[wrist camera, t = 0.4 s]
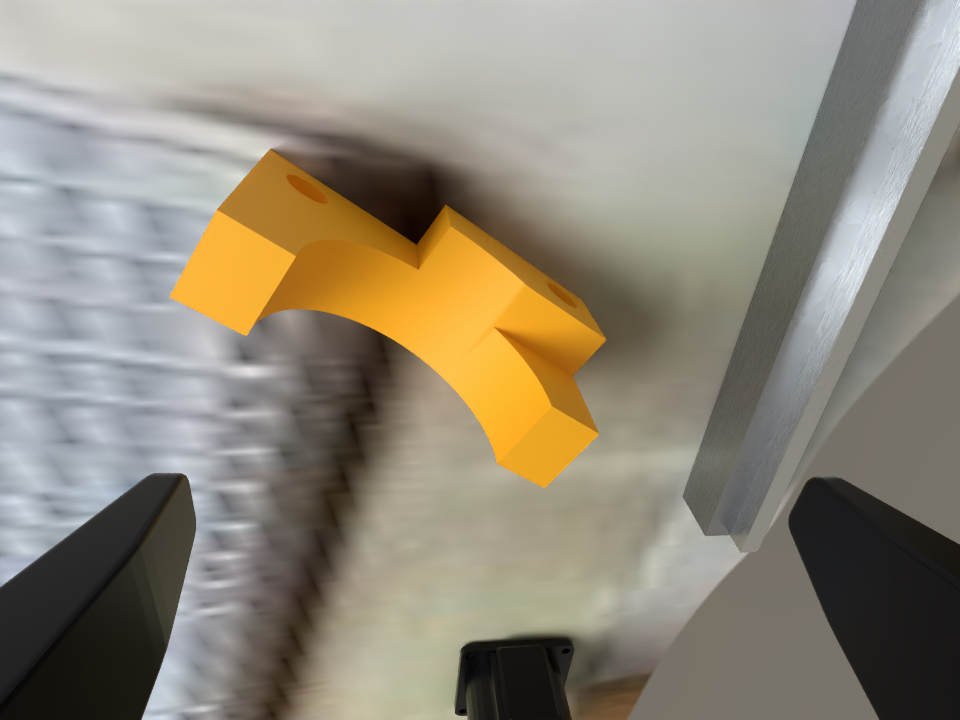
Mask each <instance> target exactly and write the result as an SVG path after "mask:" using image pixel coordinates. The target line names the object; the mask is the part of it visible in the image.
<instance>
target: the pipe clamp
mask: <svg viewBox="0 0 960 720" xmlns="http://www.w3.org/2000/svg"><path fill="white" fill-rule="evenodd" d="M170 298H172V299H174V300H176V301H178V302H180V303H182V304H184V305H186V306H188V307H190V308H192V309H194V310H196V311H198V312H200V313H202V314H204V315H206V316H207V317H209V318H211V319H213V320H215V321H217V322H219V323H221V324H223V325H225V326H227V327H229V328H231V329H233V330H235V331H237V332H239V333H241V334H243V335H245V336H247V334H248V333H249V331H250V329H251V328H252V327H253V326H254V325H255V324H256V322H258V321H259V320H261V319H262V318H263V317H265V316H267V315H270V314H272V313H275V312H278V311H282V310H290V309H309V310H317V311H324V312H328V313H332V314H336V315H339V316H343V317H346V318H349V319H351V320H354V321H357V322H359V323H362V324H364V325H366V326H368V327H371V328H373V329H375V330H377V331H379V332H381V333H382V334H384V335H386V336H388V337H389V338H391V339H393V340H395V341H396V342H398V343H399V344H401V345H403V346H404V347H405V348H407V349H408V350H410V351H411V352H413V353H414V354H415V355H417V356H418V357H419V358H421V359H422V360H423V361H425V362H426V363H427V364H428V365H429V366H431V367H432V368H433V369H434V370H435V371H436V372H437V373H438V374H440V375H441V376H442V377H443V378H444V379H445V380H446V381H447V382H448V383H449V384H450V385H451V386H452V387H453V388H454V389H455V391H456V392H457V393H458V394H459V395H460V396H461V397H462V399H463V400H464V401H465V402H466V403H467V405H468V406H469V407H470V409H471V410H472V412H473V413H474V414H475V416H476V417H477V419H478V420H479V422H480V424H481V425H482V427H483V429H484V431H485V432H486V434H487V436H488V438H489V441H490V443H491V445H492V448H493V450H494V453H495V456H496V460H497V464H498V465H500V466H502V467H504V468H506V469H508V470H510V471H512V472H514V473H516V474H518V475H520V476H522V477H524V478H526V479H528V480H530V481H532V482H534V483H536V484H538V485H540V486H542V487H544V488H545V487H546V486H547V485H548V484H550V483H551V482H552V481H553V480H554V479H555V478H556V477H557V476H558V475H559V474H560V473H561V472H562V471H563V470H564V469H565V468H566V467H567V466H568V465H569V464H570V463H571V462H572V461H573V460H574V459H575V458H576V457H577V456H578V455H579V454H580V453H581V452H582V451H583V450H584V449H585V448H586V447H587V446H588V445H589V444H590V443H591V442H592V441H593V440H594V439H595V438H596V437H597V436H598V435H599V432H598V430H597V428H596V426H595V424H594V421H593V419H592V417H591V415H590V413H589V411H588V408H587V406H586V404H585V402H584V400H583V398H582V395H581V393H580V391H579V389H578V387H577V385H576V382H575V380H574V378H573V375H574V374H575V373H576V372H577V371H578V370H579V369H580V368H581V367H582V366H583V365H584V364H585V362H586V361H587V360H588V359H589V358H590V357H591V356H592V355H593V354H594V353H595V352H596V351H597V350H598V348H599V347H600V346H601V345H602V344H603V343H604V342H605V341H606V338H605V336H604V335H603V333H602V332H601V330H600V328H599V327H598V325H597V323H596V322H595V320H594V318H593V317H592V315H591V313H590V312H589V310H588V309H587V307H586V305H585V304H584V302H583V300H581V299H580V298H578V297H577V296H575V295H574V294H573V293H571V292H570V291H568V290H567V289H565V288H564V287H563V286H561V285H560V284H558V283H557V282H556V281H554V280H553V279H551V278H550V277H548V276H547V275H546V274H544V273H543V272H541V271H540V270H538V269H537V268H536V267H534V266H533V265H531V264H530V263H528V262H527V261H526V260H524V259H523V258H521V257H520V256H518V255H517V254H516V253H514V252H513V251H511V250H510V249H508V248H507V247H506V246H504V245H503V244H501V243H500V242H499V241H497V240H496V239H494V238H493V237H491V236H490V235H489V234H487V233H486V232H484V231H483V230H481V229H480V228H479V227H477V226H476V225H474V224H473V223H471V222H470V221H469V220H467V219H466V218H464V217H463V216H461V215H460V214H459V213H457V212H456V211H454V210H453V209H451V208H450V207H449V206H447V205H445V206H444V208H443V209H442V210H441V212H440V213H439V215H438V216H437V217H436V219H435V220H434V222H433V223H432V224H431V226H430V227H429V229H428V230H427V231H426V233H425V234H424V236H423V237H422V238H421V240H420V241H419V243H418V244H417V245H416V244H415V243H413V242H412V241H410V240H409V239H407V238H406V237H404V236H402V235H401V234H399V233H398V232H396V231H395V230H393V229H392V228H390V227H389V226H387V225H386V224H384V223H383V222H381V221H379V220H378V219H376V218H375V217H373V216H372V215H370V214H369V213H367V212H366V211H364V210H363V209H361V208H360V207H358V206H356V205H355V204H353V203H352V202H350V201H349V200H347V199H346V198H344V197H343V196H341V195H340V194H338V193H337V192H335V191H334V190H332V189H330V188H329V187H327V186H326V185H324V184H323V183H321V182H320V181H318V180H317V179H315V178H314V177H312V176H311V175H309V174H307V173H306V172H304V171H303V170H301V169H300V168H298V167H297V166H295V165H294V164H292V163H291V162H289V161H288V160H286V159H285V158H283V157H281V156H280V155H278V154H277V153H275V152H274V151H272V150H271V149H270V150H269V151H268V152H267V153H266V154H265V155H264V157H263V158H262V159H261V160H260V161H259V162H258V163H257V164H256V166H255V167H254V168H253V169H252V170H251V171H250V172H249V174H248V175H247V176H246V177H245V178H244V179H243V180H242V182H241V183H240V184H239V185H238V186H237V187H236V188H235V190H234V191H233V192H232V193H231V194H230V195H229V196H228V198H227V199H226V200H225V201H224V202H223V203H222V204H221V206H220V207H219V208H218V209H217V210H216V212H215V214H214V216H213V218H212V220H211V221H210V223H209V225H208V227H207V229H206V231H205V232H204V234H203V236H202V238H201V240H200V242H199V243H198V245H197V247H196V249H195V251H194V253H193V255H192V256H191V258H190V260H189V262H188V264H187V266H186V267H185V269H184V271H183V273H182V275H181V277H180V278H179V280H178V282H177V284H176V286H175V288H174V289H173V291H172V293H171V295H170Z"/></svg>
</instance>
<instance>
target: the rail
mask: <svg viewBox="0 0 960 720" xmlns="http://www.w3.org/2000/svg"><path fill="white" fill-rule="evenodd" d="M959 123H960V0H858V1H857V4H856V7H855V10H854V13H853V15H852V18H851V21H850V24H849V27H848V30H847V32H846V35H845V38H844V41H843V44H842V47H841V49H840V52H839V55H838V58H837V61H836V64H835V66H834V69H833V72H832V75H831V78H830V81H829V83H828V86H827V89H826V92H825V95H824V98H823V100H822V103H821V106H820V109H819V112H818V115H817V117H816V120H815V123H814V126H813V129H812V132H811V135H810V137H809V140H808V143H807V146H806V149H805V152H804V154H803V157H802V160H801V163H800V166H799V169H798V171H797V174H796V177H795V180H794V183H793V186H792V188H791V191H790V194H789V197H788V200H787V203H786V205H785V208H784V211H783V214H782V217H781V220H780V222H779V225H778V228H777V231H776V234H775V237H774V239H773V242H772V245H771V248H770V251H769V254H768V256H767V259H766V262H765V265H764V268H763V271H762V273H761V276H760V279H759V282H758V285H757V288H756V290H755V293H754V296H753V299H752V302H751V305H750V308H749V310H748V313H747V316H746V319H745V322H744V325H743V327H742V330H741V333H740V336H739V339H738V342H737V344H736V347H735V350H734V353H733V356H732V359H731V361H730V364H729V367H728V370H727V373H726V376H725V378H724V381H723V384H722V387H721V390H720V393H719V395H718V398H717V401H716V404H715V407H714V410H713V412H712V415H711V418H710V421H709V424H708V427H707V429H706V432H705V435H704V438H703V441H702V444H701V446H700V449H699V452H698V455H697V458H696V461H695V464H694V466H693V469H692V472H691V475H690V478H689V481H688V483H687V486H686V489H685V492H684V495H683V498H684V500H685V501H686V503H687V505H688V507H689V508H690V510H691V512H692V514H693V515H694V517H695V519H696V521H697V522H698V524H699V526H700V528H701V529H702V531H703V533H704V535H705V536H718V535H730V536H731V538H732V539H733V541H734V543H735V544H736V546H737V547H738V549H739V551H740V552H757V551H758V549H759V547H760V545H761V543H762V541H763V539H764V536H765V534H766V532H767V530H768V528H769V526H770V524H771V522H772V519H773V517H774V515H775V513H776V511H777V509H778V507H779V505H780V502H781V500H782V498H783V496H784V494H785V492H786V490H787V488H788V485H789V483H790V481H791V479H792V477H793V475H794V473H795V471H796V468H797V466H798V464H799V462H800V460H801V458H802V456H803V454H804V452H805V449H806V447H807V445H808V443H809V441H810V439H811V437H812V435H813V432H814V430H815V428H816V426H817V424H818V422H819V420H820V418H821V415H822V413H823V411H824V409H825V407H826V405H827V403H828V401H829V398H830V396H831V394H832V392H833V390H834V388H835V386H836V384H837V382H838V379H839V377H840V375H841V373H842V371H843V369H844V367H845V365H846V362H847V360H848V358H849V356H850V354H851V352H852V350H853V348H854V345H855V343H856V341H857V339H858V337H859V335H860V333H861V331H862V328H863V326H864V324H865V322H866V320H867V318H868V316H869V314H870V311H871V309H872V307H873V305H874V303H875V301H876V299H877V297H878V295H879V292H880V290H881V288H882V286H883V284H884V282H885V280H886V278H887V275H888V273H889V271H890V269H891V267H892V265H893V263H894V261H895V258H896V256H897V254H898V252H899V250H900V248H901V246H902V244H903V241H904V239H905V237H906V235H907V233H908V231H909V229H910V227H911V225H912V222H913V220H914V218H915V216H916V214H917V212H918V210H919V208H920V205H921V203H922V201H923V199H924V197H925V195H926V193H927V191H928V188H929V186H930V184H931V182H932V180H933V178H934V176H935V174H936V171H937V169H938V167H939V165H940V163H941V161H942V159H943V157H944V154H945V152H946V150H947V148H948V146H949V144H950V142H951V140H952V138H953V135H954V133H955V131H956V129H957V127H958V125H959Z"/></svg>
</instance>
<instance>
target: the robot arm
mask: <svg viewBox="0 0 960 720" xmlns="http://www.w3.org/2000/svg"><path fill="white" fill-rule="evenodd" d="M788 521H789V529H790V532H791V535H792V537H793V539H794V542H795V544H796V547H797V549H798V551H799V554H800V556H801V559H802V561H803V563H804V566H805V568H806V571H807V573H808V575H809V578H810V580H811V583H812V585H813V587H814V590H815V592H816V595H817V597H818V599H819V601H820V604H821V606H822V609H823V611H824V613H825V616H826V618H827V620H828V622H829V624H830V626H831V628H832V630H833V632H834V634H835V636H836V638H837V640H838V642H839V644H840V646H841V648H842V650H843V652H844V654H845V656H846V657H847V659H848V661H849V663H850V665H851V667H852V668H853V670H854V673H855V674H856V676H857V678H858V680H859V682H860V684H861V685H862V688H863V689H864V691H865V693H866V695H867V697H868V699H869V701H870V703H871V704H872V707H873V708H874V710H875V712H876V714H877V716H878V718H879V720H960V545H959V544H958V543H956V542H954V541H952V540H950V539H949V538H947V537H945V536H943V535H942V534H940V533H938V532H936V531H934V530H933V529H931V528H929V527H927V526H925V525H924V524H922V523H920V522H918V521H916V520H915V519H913V518H911V517H909V516H908V515H906V514H904V513H902V512H901V511H899V510H897V509H895V508H893V507H892V506H890V505H888V504H886V503H884V502H882V501H881V500H879V499H877V498H875V497H874V496H872V495H870V494H868V493H867V492H865V491H863V490H861V489H859V488H857V487H856V486H854V485H852V484H851V483H849V482H847V481H845V480H843V479H841V478H838V477H813V478H811V479H809V480H808V481H807V482H806V484H805V485H804V487H803V489H802V491H801V493H800V495H799V497H798V499H797V501H796V503H795V504H794V507H793V508H792V510H791V512H790V515H789V520H788ZM195 531H196V516H195V511H194V506H193V500H192V495H191V490H190V484H189V480H188V478H187V477H186V476H185V475H184V474H181V473H154V474H151V475H149V476H147V477H145V478H144V479H143V480H141V481H140V482H139V483H137V484H136V485H135V486H134V487H132V488H131V489H130V490H128V491H127V492H126V493H124V494H123V495H122V496H120V497H119V498H118V499H116V500H115V501H114V502H112V503H111V504H110V505H108V506H107V507H106V508H104V509H103V510H102V511H100V512H99V513H98V514H96V515H95V516H94V517H92V518H91V519H90V520H89V521H87V522H86V523H85V524H83V525H82V526H81V527H79V528H78V529H77V530H75V531H74V532H73V533H71V534H70V535H69V536H67V537H66V538H65V539H63V540H62V541H61V542H59V543H58V544H57V545H55V546H54V547H53V548H51V549H50V550H49V551H47V552H46V553H45V554H44V555H42V556H41V557H40V558H38V559H37V560H36V561H34V562H33V563H32V564H30V565H29V566H28V567H26V568H25V569H24V570H22V571H21V572H20V573H18V574H17V575H16V576H14V577H13V578H12V579H10V580H9V581H8V582H6V583H5V584H4V585H2V586H1V587H0V720H141V719H142V717H143V714H144V711H145V709H146V706H147V703H148V700H149V698H150V695H151V692H152V690H153V687H154V684H155V681H156V679H157V676H158V673H159V671H160V668H161V665H162V662H163V659H164V656H165V653H166V650H167V647H168V643H169V639H170V635H171V631H172V628H173V623H174V619H175V615H176V611H177V607H178V603H179V599H180V595H181V591H182V587H183V583H184V578H185V574H186V570H187V566H188V562H189V558H190V554H191V550H192V546H193V542H194V537H195ZM573 653H574V646H573V643H572V641H571V640H568V639H562V640H545V641H528V642H511V643H494V644H476V645H466V646H464V647H463V648H462V649H461V651H460V660H459V669H458V678H457V687H456V696H455V714H457V715H459V716H467V717H468V720H572V718H571V714H570V710H569V706H568V702H567V698H566V693H565V689H564V686H565V682H566V679H567V675H568V672H569V668H570V664H571V661H572V657H573Z"/></svg>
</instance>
